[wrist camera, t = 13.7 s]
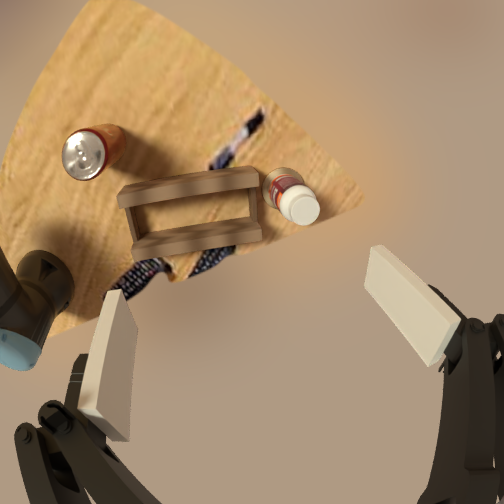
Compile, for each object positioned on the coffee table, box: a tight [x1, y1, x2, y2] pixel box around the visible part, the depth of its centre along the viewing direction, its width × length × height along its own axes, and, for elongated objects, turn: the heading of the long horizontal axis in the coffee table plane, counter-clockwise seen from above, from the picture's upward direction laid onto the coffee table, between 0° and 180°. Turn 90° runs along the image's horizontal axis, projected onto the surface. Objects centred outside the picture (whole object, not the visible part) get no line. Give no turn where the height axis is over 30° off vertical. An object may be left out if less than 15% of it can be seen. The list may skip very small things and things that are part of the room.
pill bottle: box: [268, 174, 320, 225], centre depth 45 cm, size 6×6×11 cm
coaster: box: [262, 168, 304, 209], centre depth 50 cm, size 8×8×1 cm
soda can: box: [62, 124, 126, 181], centre depth 34 cm, size 7×7×12 cm
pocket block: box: [117, 166, 262, 261], centre depth 46 cm, size 22×12×6 cm, turn 94°
